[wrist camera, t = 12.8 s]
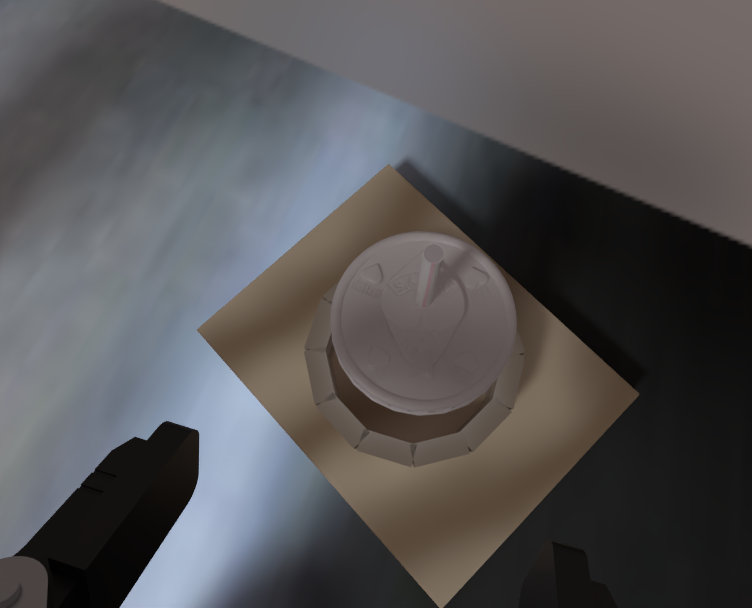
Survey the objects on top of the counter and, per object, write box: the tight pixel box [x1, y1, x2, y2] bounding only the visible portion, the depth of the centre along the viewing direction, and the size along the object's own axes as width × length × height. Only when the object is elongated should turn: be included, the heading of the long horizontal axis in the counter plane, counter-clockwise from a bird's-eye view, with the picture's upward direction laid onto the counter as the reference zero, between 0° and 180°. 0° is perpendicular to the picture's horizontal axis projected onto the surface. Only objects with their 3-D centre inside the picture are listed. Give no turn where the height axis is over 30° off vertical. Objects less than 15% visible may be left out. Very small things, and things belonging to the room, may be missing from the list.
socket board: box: [197, 164, 639, 608], centre depth 27 cm, size 18×14×4 cm
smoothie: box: [330, 231, 517, 416], centre depth 20 cm, size 6×6×14 cm
